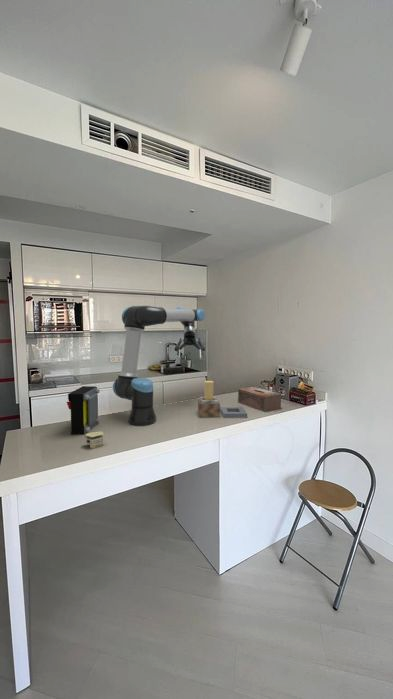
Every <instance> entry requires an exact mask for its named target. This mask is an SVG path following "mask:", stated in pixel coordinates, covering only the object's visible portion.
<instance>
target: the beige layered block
mask: <svg viewBox="0 0 393 699" xmlns="http://www.w3.org/2000/svg"><path fill="white" fill-rule="evenodd" d="M104 435H105V434H104V432H103V431H101V430H100V431H92V432H91V431H90V432H87V433H86V434H85V439H86V441H85V443H86V444H87V445H88V446H89V447H90V449H97V448H98V447H102V446H104V443H105V441H104V438H105V436H104Z"/></svg>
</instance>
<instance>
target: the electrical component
mask: <svg viewBox="0 0 393 699" xmlns="http://www.w3.org/2000/svg"><path fill="white" fill-rule="evenodd" d="M100 391H101V390H100V388H98V386H95V385H94V386H91V385H90V386H81V387H79V388H77V389H75V390H73V391H71V392H70V393H68V394H67V400H68V401H66V405H67V407H68V410H70V431H71V432H70V435H75V436H76V435H78V436H79V435H80V436H81V435H83V436H84V435H86V434H87V433H90V432H91V430H92V428H94V427H95V426H96V424H98V423H99V424H100V422H101V418H100V417H99V410H98V407H99V406H98V405H99V404H98V403H99V402H98V394H99V393H100ZM98 417H99V418H98Z"/></svg>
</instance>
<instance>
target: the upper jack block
mask: <svg viewBox="0 0 393 699" xmlns="http://www.w3.org/2000/svg"><path fill="white" fill-rule="evenodd" d="M220 407H221V403H220V401H219V400H218V398H217V396H213V400H204V396H199V398H198V399H197V413H198V414H197V415H198V418H203V419H204V418H221V414H220V413H221V412H220Z"/></svg>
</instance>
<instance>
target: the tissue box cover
mask: <svg viewBox="0 0 393 699" xmlns="http://www.w3.org/2000/svg"><path fill="white" fill-rule="evenodd" d="M237 390H238V391H237V392H238V393H237V396H238V397H237V403H239V404H241V405H244V406H247V407H250V408H253V409H255V410H258V411H261V412H264V413H266V412H272V411H277V410H280V409H282V393H279V392H275V391H272V390H267V389H264V388H261V387H260V388H259V387H255V386H249V387H241V388H238V389H237ZM276 409H277V410H276Z"/></svg>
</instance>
